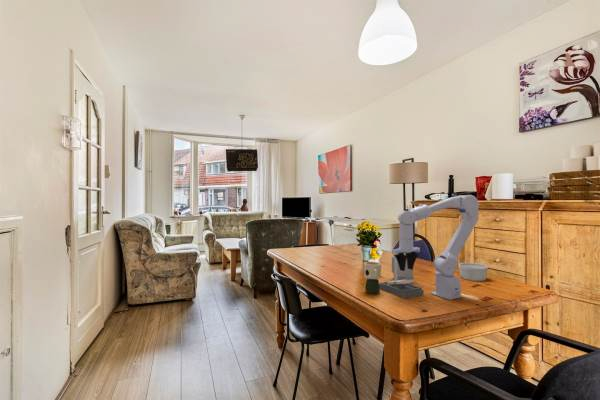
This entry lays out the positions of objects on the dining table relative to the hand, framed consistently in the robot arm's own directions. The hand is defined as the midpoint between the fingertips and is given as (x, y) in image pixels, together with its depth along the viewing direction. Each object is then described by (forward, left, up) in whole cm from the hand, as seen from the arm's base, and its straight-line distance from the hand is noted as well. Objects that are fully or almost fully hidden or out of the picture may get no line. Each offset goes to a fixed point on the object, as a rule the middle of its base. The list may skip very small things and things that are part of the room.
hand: (406, 269), depth 129 cm
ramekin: (+2, -50, -11) cm, 51 cm away
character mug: (+8, +12, -11) cm, 18 cm away
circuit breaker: (+15, -13, -11) cm, 23 cm away
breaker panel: (+4, 0, -10) cm, 11 cm away
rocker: (+4, 0, -6) cm, 7 cm away
